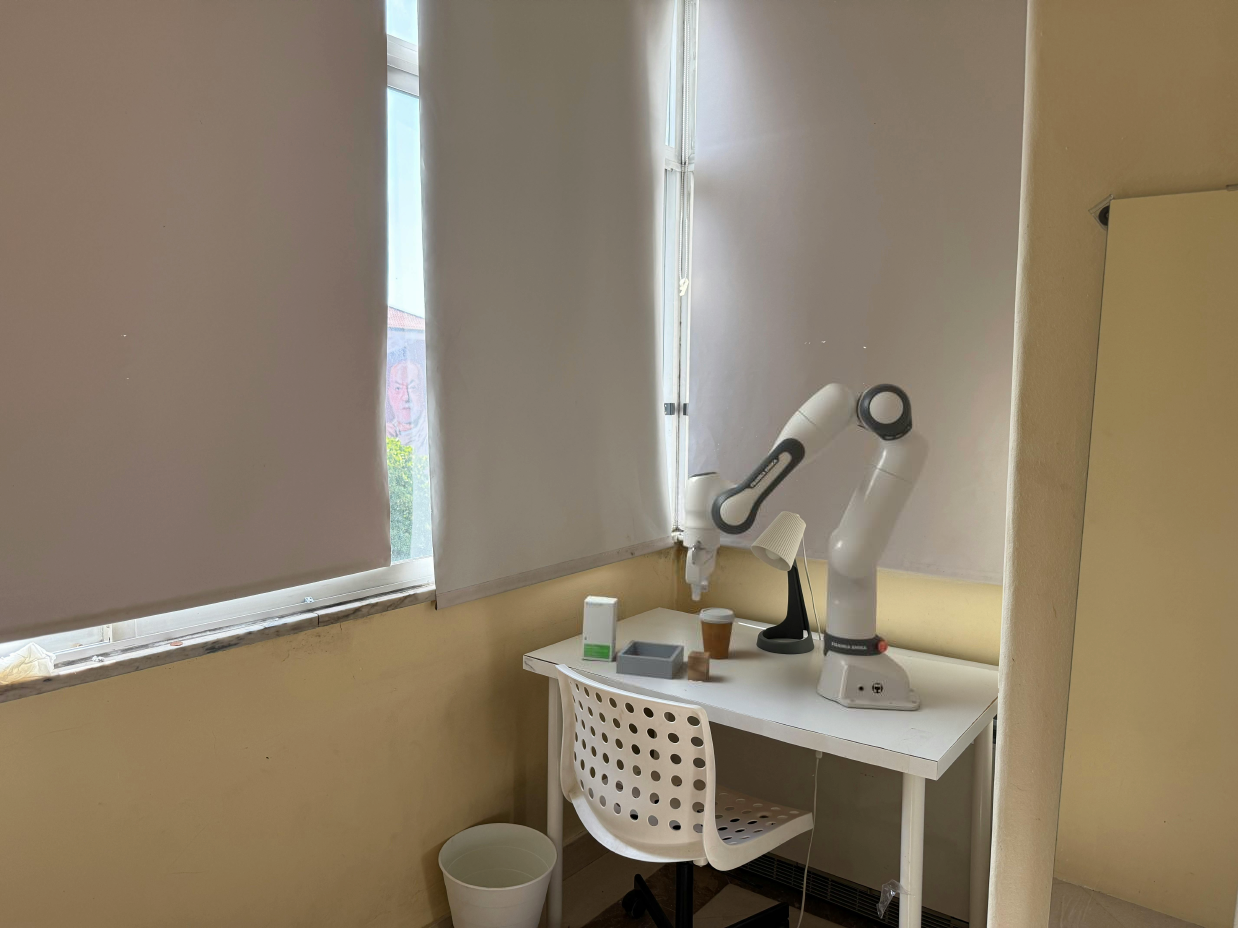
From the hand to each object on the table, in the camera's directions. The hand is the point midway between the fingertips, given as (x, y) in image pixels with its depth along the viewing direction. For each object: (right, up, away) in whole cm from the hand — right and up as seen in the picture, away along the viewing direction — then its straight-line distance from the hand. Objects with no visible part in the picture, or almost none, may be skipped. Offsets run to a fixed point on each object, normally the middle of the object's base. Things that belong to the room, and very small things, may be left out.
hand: (700, 595), depth 184 cm
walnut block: (0, -20, +1) cm, 20 cm away
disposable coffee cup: (+6, -20, +20) cm, 29 cm away
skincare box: (-25, -19, +17) cm, 36 cm away
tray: (-12, -20, +8) cm, 24 cm away
